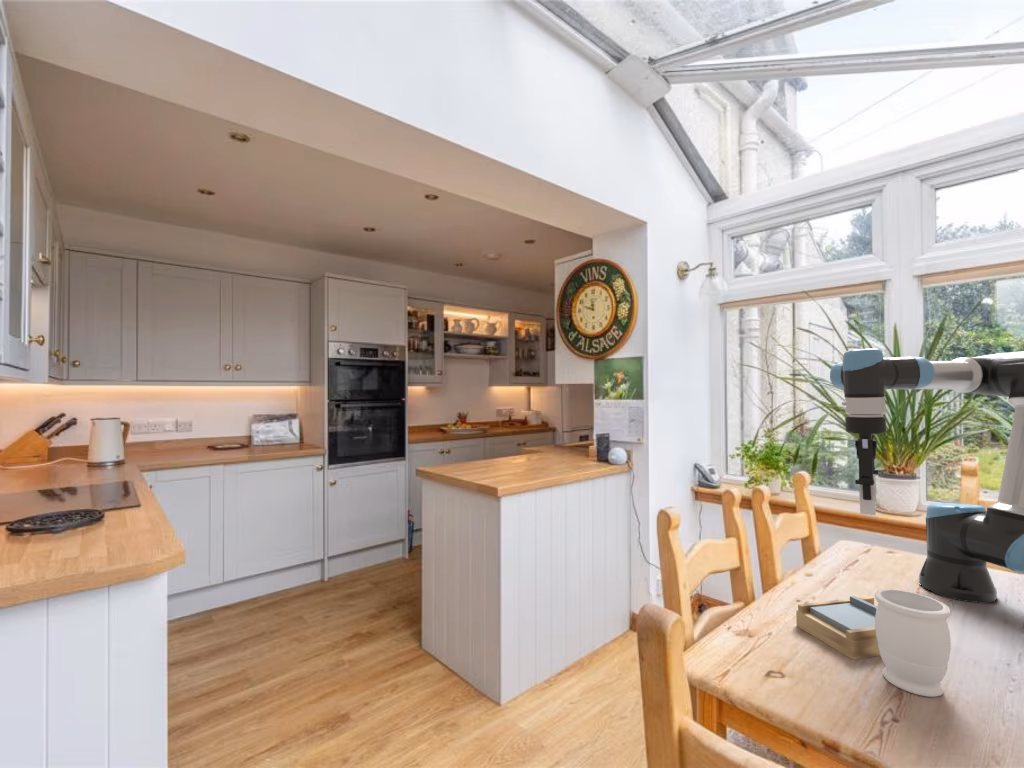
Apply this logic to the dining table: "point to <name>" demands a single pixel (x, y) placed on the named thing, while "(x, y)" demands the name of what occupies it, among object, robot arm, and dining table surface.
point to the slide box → (839, 631)
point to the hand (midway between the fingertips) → (868, 507)
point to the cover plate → (848, 614)
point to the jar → (913, 640)
